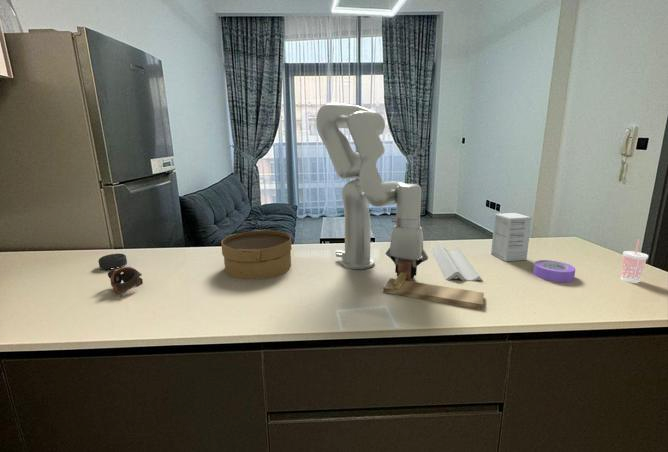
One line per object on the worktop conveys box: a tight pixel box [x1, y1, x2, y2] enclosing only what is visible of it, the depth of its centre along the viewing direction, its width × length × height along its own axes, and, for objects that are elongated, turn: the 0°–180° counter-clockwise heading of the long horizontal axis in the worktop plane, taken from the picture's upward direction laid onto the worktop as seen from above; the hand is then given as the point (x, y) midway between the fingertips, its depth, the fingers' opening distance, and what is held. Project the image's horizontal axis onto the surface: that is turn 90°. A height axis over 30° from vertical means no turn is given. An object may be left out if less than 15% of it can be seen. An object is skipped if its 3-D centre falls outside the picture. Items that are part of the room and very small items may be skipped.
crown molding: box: [430, 243, 483, 282], centre depth 126 cm, size 31×12×4 cm, turn 173°
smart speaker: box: [97, 253, 128, 270], centre depth 128 cm, size 9×9×4 cm
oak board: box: [382, 277, 485, 310], centre depth 101 cm, size 28×8×2 cm, turn 65°
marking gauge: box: [393, 258, 413, 289], centre depth 107 cm, size 4×16×7 cm, turn 155°
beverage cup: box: [620, 238, 649, 284], centre depth 108 cm, size 6×6×14 cm
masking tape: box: [532, 259, 576, 283], centre depth 113 cm, size 12×12×4 cm
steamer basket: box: [220, 230, 293, 281], centre depth 124 cm, size 25×25×11 cm
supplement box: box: [490, 212, 532, 262], centre depth 130 cm, size 10×9×17 cm
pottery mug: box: [107, 266, 144, 295], centre depth 107 cm, size 12×10×8 cm
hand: (405, 275), depth 112 cm, fingers closed on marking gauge, 4 cm apart
